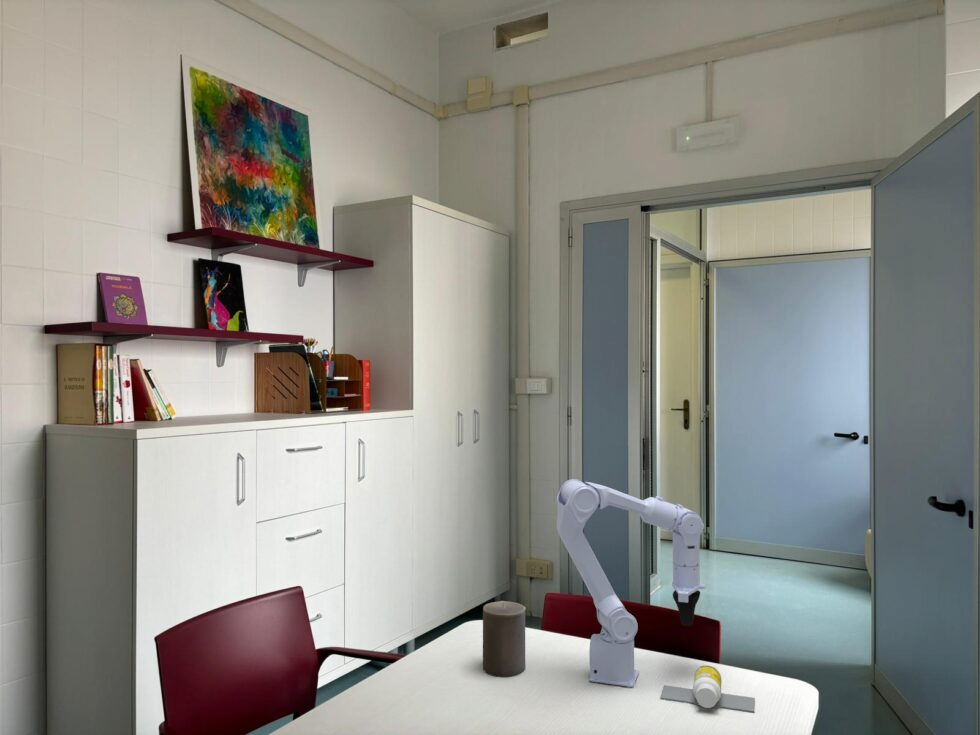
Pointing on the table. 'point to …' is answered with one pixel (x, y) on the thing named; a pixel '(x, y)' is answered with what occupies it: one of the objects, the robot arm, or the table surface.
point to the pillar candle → (504, 639)
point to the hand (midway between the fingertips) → (687, 624)
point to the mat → (724, 702)
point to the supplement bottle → (707, 686)
